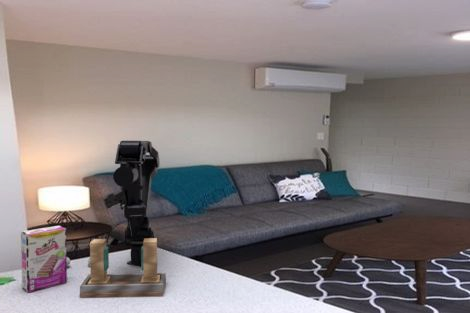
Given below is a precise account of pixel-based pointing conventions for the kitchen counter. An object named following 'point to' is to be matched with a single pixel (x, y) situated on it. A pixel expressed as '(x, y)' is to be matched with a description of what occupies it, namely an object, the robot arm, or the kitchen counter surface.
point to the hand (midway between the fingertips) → (132, 233)
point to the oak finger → (149, 261)
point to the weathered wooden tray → (115, 278)
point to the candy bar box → (43, 258)
